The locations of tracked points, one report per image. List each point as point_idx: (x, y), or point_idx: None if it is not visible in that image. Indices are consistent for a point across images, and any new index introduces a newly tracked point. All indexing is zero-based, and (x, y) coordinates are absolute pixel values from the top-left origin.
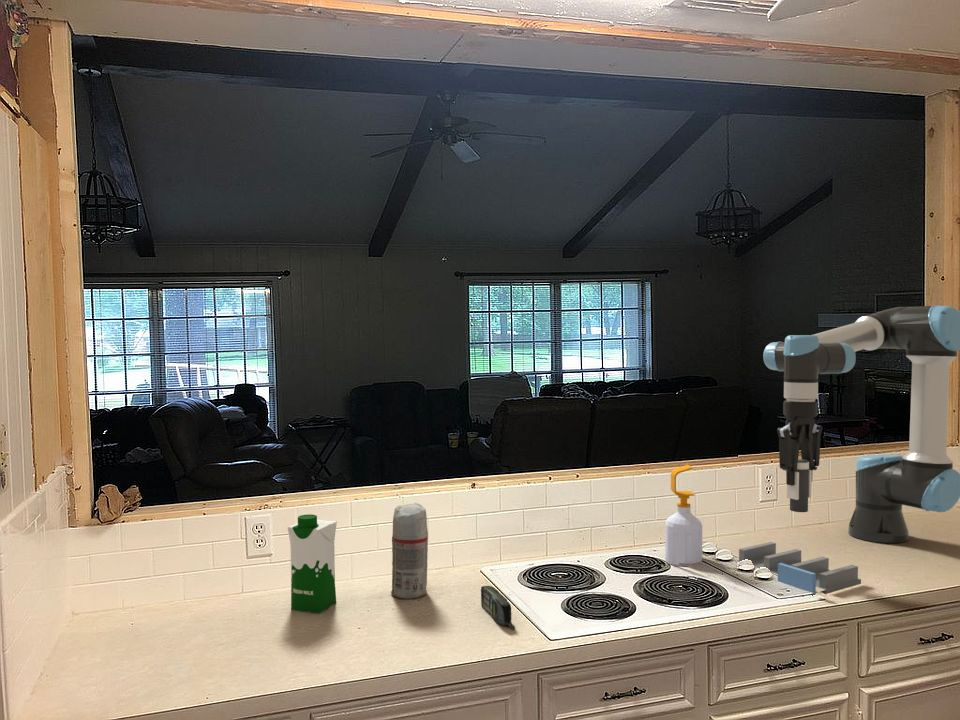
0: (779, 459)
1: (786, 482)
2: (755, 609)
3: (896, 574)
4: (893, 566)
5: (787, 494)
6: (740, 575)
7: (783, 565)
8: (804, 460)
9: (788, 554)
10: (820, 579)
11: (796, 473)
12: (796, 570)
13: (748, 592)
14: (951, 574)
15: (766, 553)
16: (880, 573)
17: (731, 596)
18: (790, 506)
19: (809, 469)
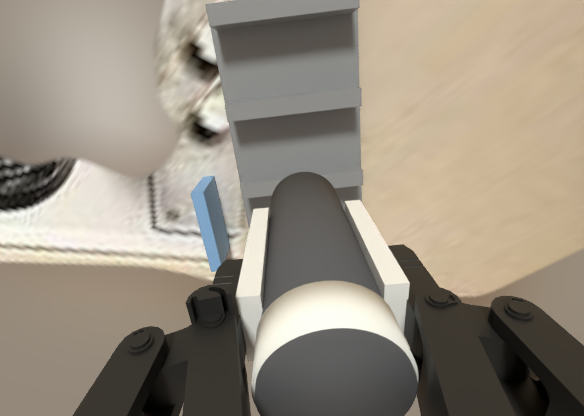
0: (78, 408)
1: (218, 268)
2: (81, 250)
3: (471, 225)
4: (522, 190)
5: (252, 217)
6: (165, 88)
7: (195, 207)
8: (374, 409)
9: (306, 112)
10: None
11: (247, 352)
12: (203, 238)
13: (117, 183)
14: (550, 263)
15: (312, 17)
16: (452, 209)
17: (70, 187)
18: (273, 196)
19: (407, 336)
